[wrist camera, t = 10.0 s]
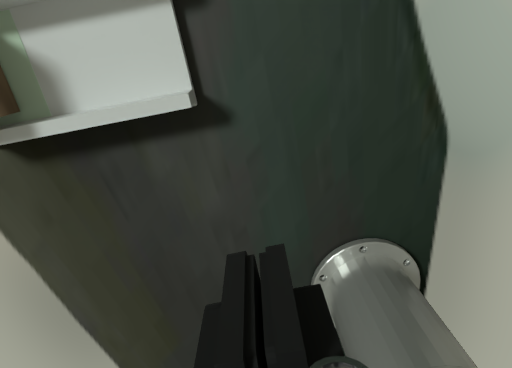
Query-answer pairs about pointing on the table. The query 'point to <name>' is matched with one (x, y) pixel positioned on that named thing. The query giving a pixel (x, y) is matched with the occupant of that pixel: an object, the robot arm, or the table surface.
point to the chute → (90, 64)
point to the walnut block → (6, 97)
